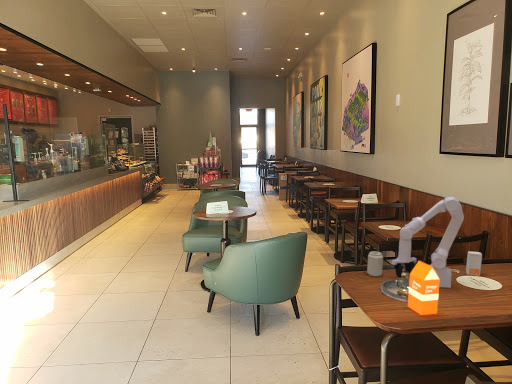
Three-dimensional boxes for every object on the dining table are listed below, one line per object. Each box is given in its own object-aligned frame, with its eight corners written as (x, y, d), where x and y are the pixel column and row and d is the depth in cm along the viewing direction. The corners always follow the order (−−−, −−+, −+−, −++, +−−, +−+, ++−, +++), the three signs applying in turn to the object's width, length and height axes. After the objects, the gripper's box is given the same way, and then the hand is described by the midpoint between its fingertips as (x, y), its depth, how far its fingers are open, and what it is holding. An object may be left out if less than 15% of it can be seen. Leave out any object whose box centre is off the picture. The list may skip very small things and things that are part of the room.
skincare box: (467, 274, 201) (469, 253, 200) (465, 272, 205) (467, 251, 204) (480, 276, 200) (482, 254, 198) (478, 273, 204) (480, 252, 202)
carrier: (426, 284, 186) (427, 276, 186) (444, 305, 163) (445, 295, 162) (376, 281, 189) (377, 273, 189) (387, 301, 166) (387, 292, 165)
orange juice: (420, 315, 153) (424, 267, 150) (407, 306, 161) (410, 260, 159) (437, 313, 155) (441, 266, 152) (423, 304, 163) (426, 259, 161)
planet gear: (403, 277, 197) (403, 268, 196) (412, 281, 191) (413, 272, 190) (393, 278, 194) (394, 270, 194) (402, 282, 188) (403, 274, 188)
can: (380, 272, 203) (381, 250, 202) (383, 277, 196) (384, 255, 194) (365, 271, 204) (367, 250, 202) (368, 276, 197) (369, 254, 195)
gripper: (409, 247, 197) (408, 272, 199) (387, 250, 191) (386, 275, 193) (420, 251, 191) (418, 276, 192) (398, 253, 185) (396, 280, 187)
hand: (403, 276), depth 192 cm, fingers closed on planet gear, 5 cm apart
